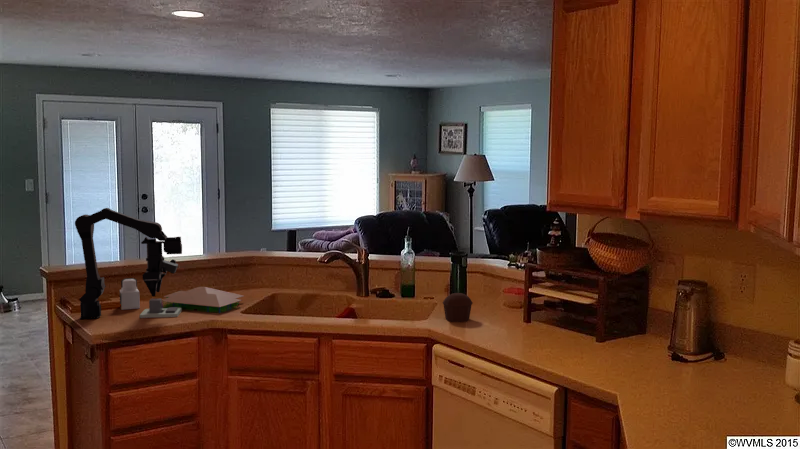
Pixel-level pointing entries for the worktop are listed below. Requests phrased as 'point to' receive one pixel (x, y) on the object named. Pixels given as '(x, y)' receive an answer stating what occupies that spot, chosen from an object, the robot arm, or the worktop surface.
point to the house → (203, 298)
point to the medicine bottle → (129, 294)
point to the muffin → (457, 307)
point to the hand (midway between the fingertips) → (155, 294)
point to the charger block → (155, 305)
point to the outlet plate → (165, 313)
